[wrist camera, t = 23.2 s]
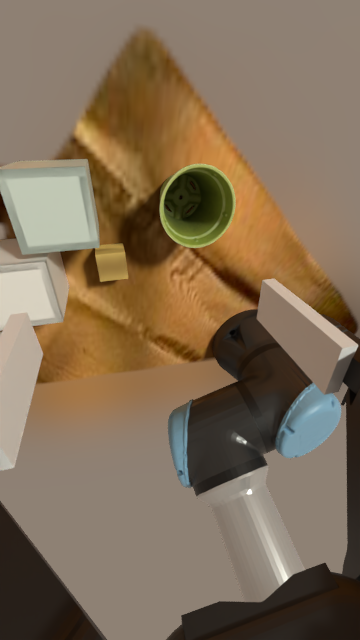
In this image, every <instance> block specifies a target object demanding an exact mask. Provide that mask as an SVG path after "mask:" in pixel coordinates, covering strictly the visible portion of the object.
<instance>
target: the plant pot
mask: <svg viewBox="0 0 360 640" xmlns="http://www.w3.org/2000/svg"><path fill="white" fill-rule="evenodd" d="M173 181H174V182H173ZM190 181H191V182H193V184H194V185H195V188H196V190H194V189H193V187H192V185H191V184H190V183H189V182H190ZM172 182H173V183H172ZM171 183H172V184H171ZM180 196H182V197H183V198H182V199H179V197H180ZM166 204H167V206H168V207H169V209H170V210H171V211H172V212H170V211H168V210H167V209H166V207H165V205H166ZM192 206H193V209H192V210H191V211H190V212H189V213H186V211H188V210H189V209H190V208H191V207H192ZM159 212H160V219H161V223H162V225H163V228H164V229H165V231H166V233H167V234H168V235H169V237H170V238H171V239H172V240H174V241H175V242H176V243H178V244H180V245H182V246H185V247H190V248H199V247H203V246H207V245H209V244H211V243H213V242H215V241H216V240H217V239H218V238H220V237H221V236H222V235H223V234H224V233H225V231H226V230H227V229H228V227H229V225H230V223H231V221H232V218H233V215H234V212H235V193H234V190H233V187H232V184H231V182H230V181H229V179H228V178H227V177H226V175H225V174H224V173H223V172H221V171H220V170H219V169H217V168H215V167H213V166H211V165H207V164H193V165H189V166H186V167H184V168H182V169H180V170H179V171H178V172H176V173H175V174H174V175H172V176H170V177H169V178H168V179H167V180H166V181H165V182H164V184H163V185H162V187H161V191H160V206H159Z"/></svg>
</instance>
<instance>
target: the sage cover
mask: <svg viewBox="0 0 360 640" xmlns="http://www.w3.org/2000/svg"><path fill="white" fill-rule="evenodd" d="M0 192H1V195H2V197H3V200H4V203H5V206H6V209H7V212H8V215H9V218H10V221H11V223H12V226H13V229H14V232H15V235H16V238H17V241H18V244H19V247H20V249H21V252H22V255H26V254H37V253H48V252H58V251H69V250H80V249H91V248H100V247H99V223H98V217H97V212H96V206H95V200H94V194H93V188H92V183H91V177H90V171H89V165H88V160H87V159H75V160H42V161H17V162H14V163H11V164H8V165H5V166H2V167H0Z"/></svg>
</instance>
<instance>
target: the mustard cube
mask: <svg viewBox="0 0 360 640" xmlns="http://www.w3.org/2000/svg"><path fill="white" fill-rule="evenodd" d="M99 247H100V248H95V257H96V262H97V267H98V272H99V277H100V282H102V281H111V280H119V279H128V272H127V264H126V256H125V250H124V246H123V243H118V244H107V245H99Z"/></svg>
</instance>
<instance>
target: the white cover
mask: <svg viewBox="0 0 360 640" xmlns="http://www.w3.org/2000/svg"><path fill="white" fill-rule="evenodd" d="M68 291H69V284H68V280H67V276H66V272H65V269H64V265H63V261H62V257H61V254H60V251H58V252H48V253H37V254H26V255H22V252H21V249H20V247H19V244H18V241H17V238H15V239H3V240H0V331H1V330H3V329H4V327H5V325H6V323H7V321H8V319H9V317H10V315H11V314H18V313H26V312H27V313H28V316H29V319H30V321H31V324H32V326H37V325H44V324H51V323H58V322H63V320H64V314H65V308H66V302H67V297H68Z"/></svg>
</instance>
